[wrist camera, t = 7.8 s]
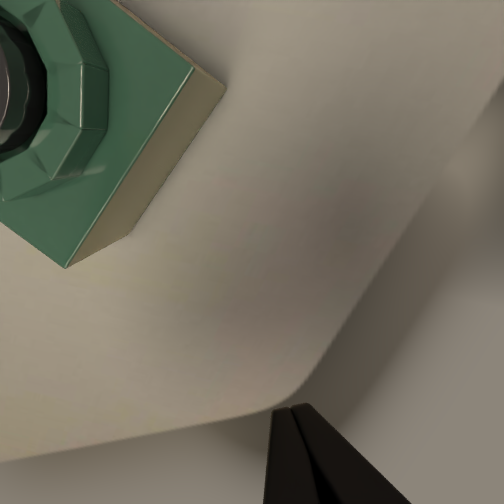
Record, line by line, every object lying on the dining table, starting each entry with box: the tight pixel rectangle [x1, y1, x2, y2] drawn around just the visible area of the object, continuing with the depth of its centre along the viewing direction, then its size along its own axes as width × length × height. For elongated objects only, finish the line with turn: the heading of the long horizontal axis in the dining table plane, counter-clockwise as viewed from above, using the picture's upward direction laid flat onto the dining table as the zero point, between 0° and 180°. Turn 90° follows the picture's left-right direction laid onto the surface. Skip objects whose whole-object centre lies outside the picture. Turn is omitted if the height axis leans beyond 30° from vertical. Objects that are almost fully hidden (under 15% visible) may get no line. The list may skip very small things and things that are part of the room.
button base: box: [0, 0, 227, 269], centre depth 17 cm, size 10×9×8 cm
